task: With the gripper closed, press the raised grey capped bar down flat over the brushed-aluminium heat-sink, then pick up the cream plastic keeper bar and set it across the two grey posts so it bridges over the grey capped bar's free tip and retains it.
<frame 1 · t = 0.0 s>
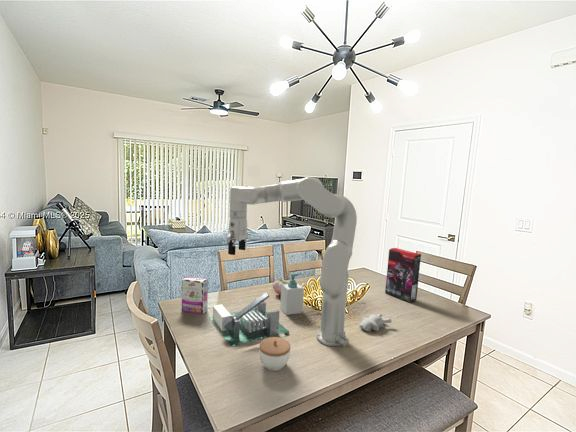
hand: (237, 252, 136), 31 cm above the table, tool pointing down, fingers open, 9 cm apart
decorative fruit: (281, 295, 170), on the table
graphics card box: (400, 297, 176), on the table
keeper: (221, 323, 132), point 1 cm above the table, touching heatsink
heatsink: (253, 332, 128), on the table
grey capped bar: (246, 310, 125), point 10 cm above the table, hinge at -28.0°
bunny figurine: (373, 327, 138), on the table
lidded jar: (274, 365, 107), on the table
candy bar box: (194, 312, 144), on the table
soap bottle: (291, 310, 151), on the table
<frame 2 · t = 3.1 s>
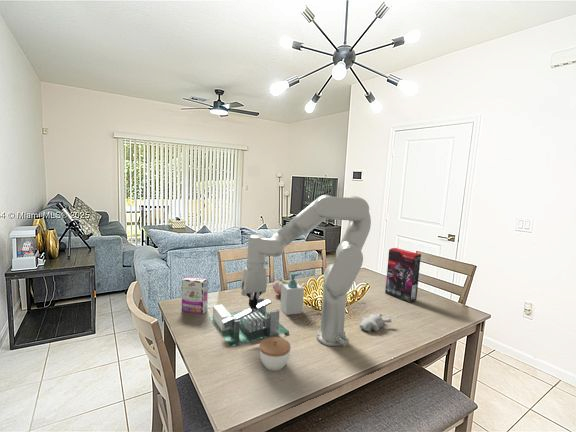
hand: (252, 307, 127), 11 cm above the table, tool pointing down, fingers closed
grey capped bar: (247, 312, 126), point 9 cm above the table, hinge at -16.0°, touching gripper
everything else where it was.
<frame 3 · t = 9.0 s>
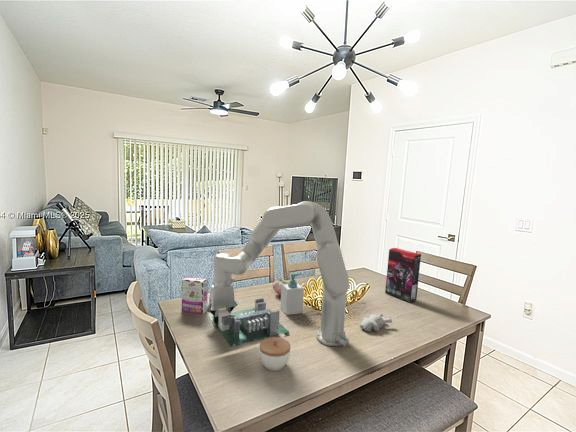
hand: (221, 322, 132), 2 cm above the table, tool pointing down, fingers closed on keeper, 4 cm apart
keeper: (221, 323, 132), point 1 cm above the table, touching gripper, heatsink
grey capped bar: (247, 315, 126), point 8 cm above the table, hinge at 0.3°
everything else where it was.
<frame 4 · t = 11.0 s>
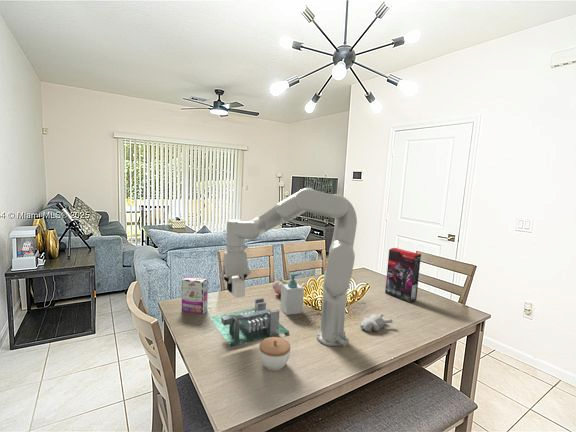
hand: (235, 290, 130), 17 cm above the table, tool pointing down, fingers closed on keeper, 4 cm apart
keeper: (234, 291, 130), point 16 cm above the table, touching gripper
everything else where it was.
when the fingers open (11 cm above the table, at t = 13.4 s): keeper stays where it is, resting on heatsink.
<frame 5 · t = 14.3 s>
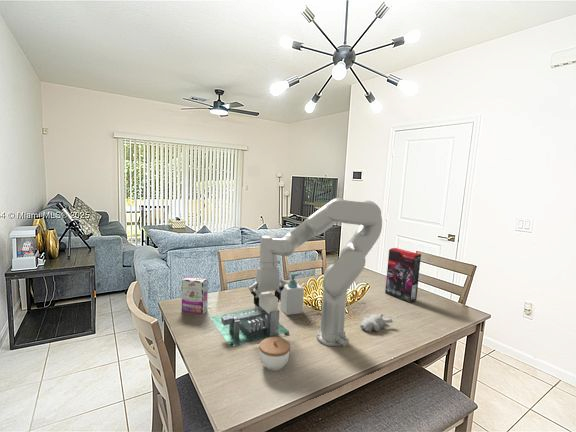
hand: (266, 303, 130), 12 cm above the table, tool pointing down, fingers open, 9 cm apart
keeper: (266, 307, 130), point 10 cm above the table, touching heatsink
everything else where it was.
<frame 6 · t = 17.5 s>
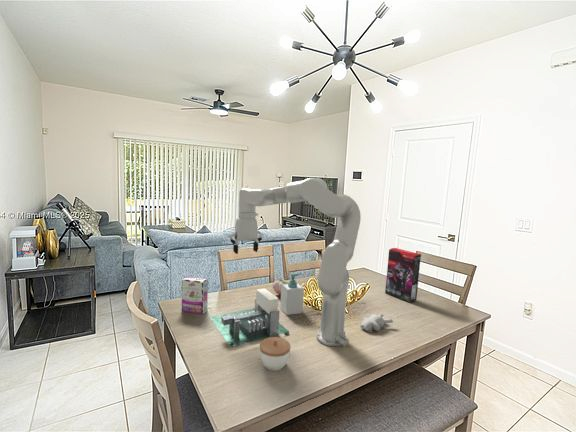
hand: (245, 252, 140), 30 cm above the table, tool pointing down, fingers open, 9 cm apart
nothing on the table moved.
at the end: grey capped bar at +0° (first picture: -28°); keeper 0.2 cm from the target spot on the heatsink, point 9.8 cm above the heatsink's base; keeper tilted 0° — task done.
